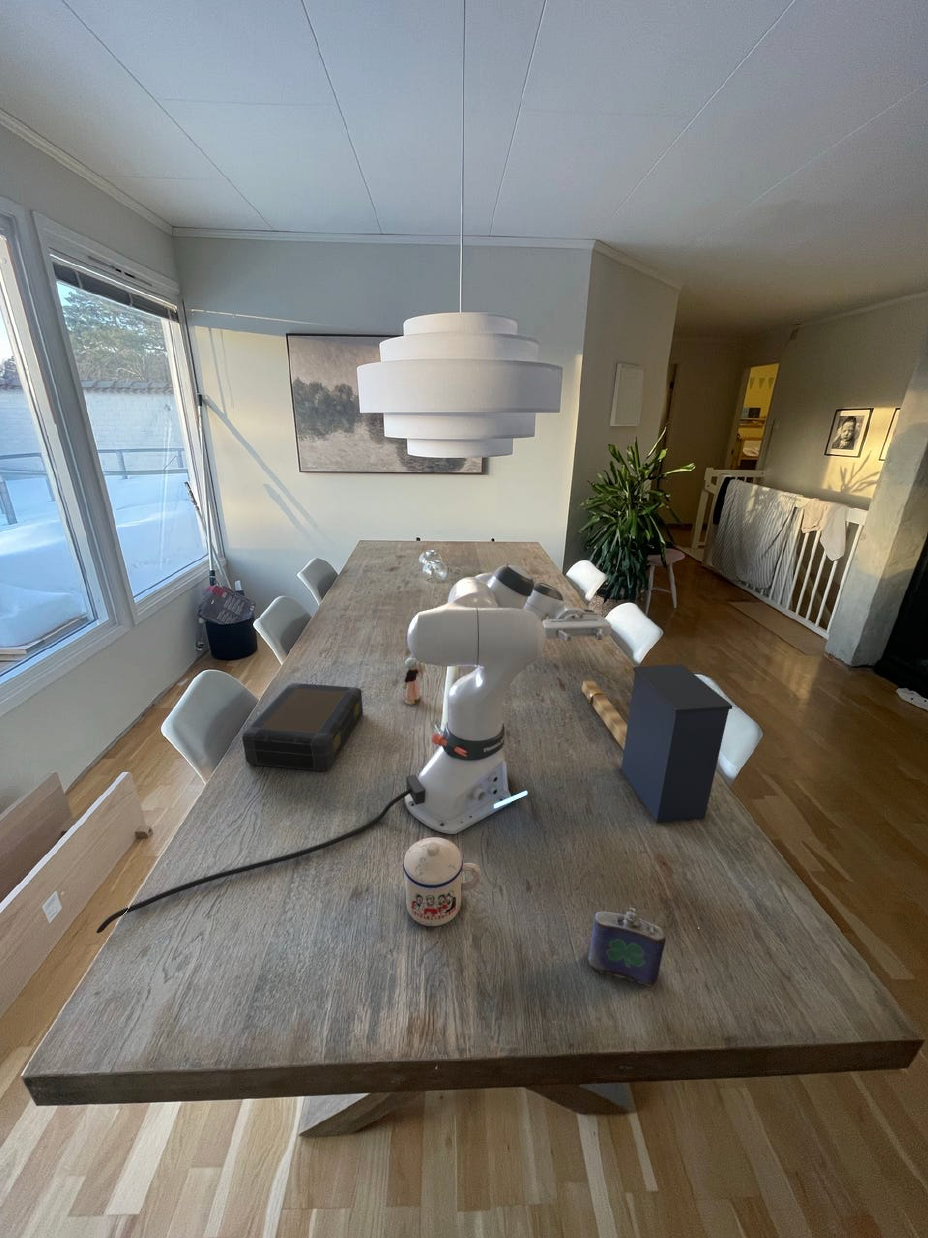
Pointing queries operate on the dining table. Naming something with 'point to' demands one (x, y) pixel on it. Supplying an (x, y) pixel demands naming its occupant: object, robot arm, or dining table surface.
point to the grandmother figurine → (411, 681)
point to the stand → (673, 741)
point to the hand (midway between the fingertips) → (584, 638)
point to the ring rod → (606, 711)
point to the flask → (626, 946)
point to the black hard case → (304, 727)
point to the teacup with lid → (435, 880)
